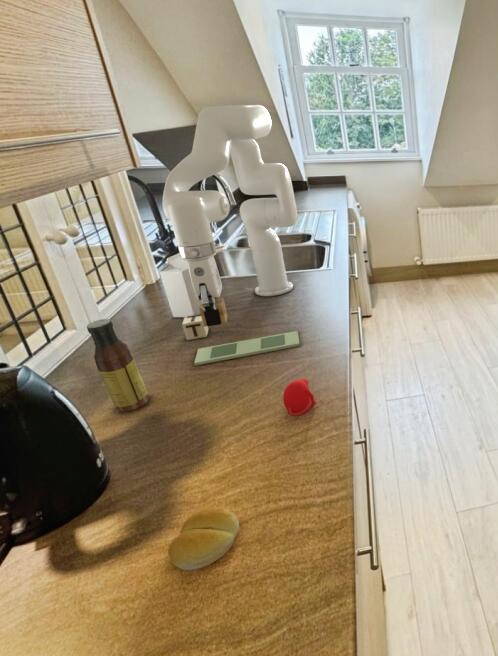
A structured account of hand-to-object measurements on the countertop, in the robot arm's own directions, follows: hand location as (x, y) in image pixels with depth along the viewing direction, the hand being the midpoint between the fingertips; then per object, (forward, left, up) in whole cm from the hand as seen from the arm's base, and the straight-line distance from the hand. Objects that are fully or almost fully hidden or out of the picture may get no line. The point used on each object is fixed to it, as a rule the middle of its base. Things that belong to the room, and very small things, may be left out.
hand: (215, 319), depth 113 cm
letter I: (0, 0, 0) cm, 0 cm away
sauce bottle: (+17, -17, -10) cm, 26 cm away
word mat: (0, +6, -10) cm, 11 cm away
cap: (+33, +17, -10) cm, 38 cm away
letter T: (-15, -8, -10) cm, 20 cm away
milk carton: (-33, -12, -10) cm, 37 cm away
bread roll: (+61, +2, -10) cm, 62 cm away
